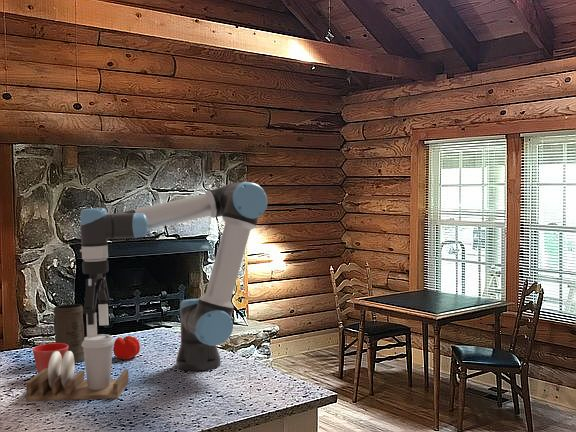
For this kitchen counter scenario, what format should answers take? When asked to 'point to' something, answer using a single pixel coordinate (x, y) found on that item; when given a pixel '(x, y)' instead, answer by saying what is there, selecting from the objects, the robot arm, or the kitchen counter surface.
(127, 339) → the tomato
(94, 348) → the coffee cup
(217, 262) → the robot arm
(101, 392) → the dish rack
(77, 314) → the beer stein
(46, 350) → the flower pot
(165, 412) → the kitchen counter surface
